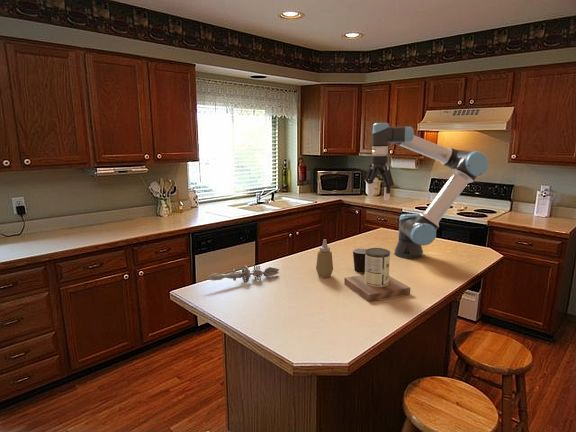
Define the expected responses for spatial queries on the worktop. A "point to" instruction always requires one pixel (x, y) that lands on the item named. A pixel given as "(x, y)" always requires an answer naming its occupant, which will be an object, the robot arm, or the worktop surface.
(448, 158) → the robot arm
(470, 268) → the worktop surface
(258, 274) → the spaceship
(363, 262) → the coffee mug
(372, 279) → the coffee can
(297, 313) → the worktop surface
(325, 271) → the squeeze bottle
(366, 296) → the walnut block
